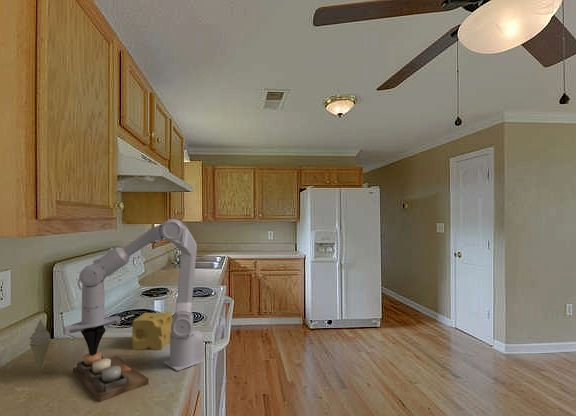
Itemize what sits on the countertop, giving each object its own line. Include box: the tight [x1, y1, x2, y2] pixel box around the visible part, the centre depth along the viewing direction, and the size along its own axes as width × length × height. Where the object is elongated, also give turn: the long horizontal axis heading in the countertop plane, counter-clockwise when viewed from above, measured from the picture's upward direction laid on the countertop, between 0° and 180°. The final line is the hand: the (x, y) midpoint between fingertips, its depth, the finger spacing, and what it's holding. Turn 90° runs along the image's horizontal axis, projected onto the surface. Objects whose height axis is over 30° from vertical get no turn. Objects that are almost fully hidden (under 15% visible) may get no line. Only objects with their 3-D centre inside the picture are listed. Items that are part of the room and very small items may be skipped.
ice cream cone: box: [29, 318, 52, 372], centre depth 103 cm, size 5×5×15 cm
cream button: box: [92, 358, 111, 373], centre depth 97 cm, size 4×4×2 cm
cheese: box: [131, 311, 173, 351], centre depth 124 cm, size 10×11×10 cm
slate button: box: [102, 366, 121, 381], centre depth 92 cm, size 4×4×2 cm
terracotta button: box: [83, 351, 103, 365], centre depth 101 cm, size 4×4×2 cm
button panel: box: [72, 355, 149, 402], centre depth 98 cm, size 12×22×3 cm, turn 46°
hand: (92, 353), depth 101 cm, fingers closed
